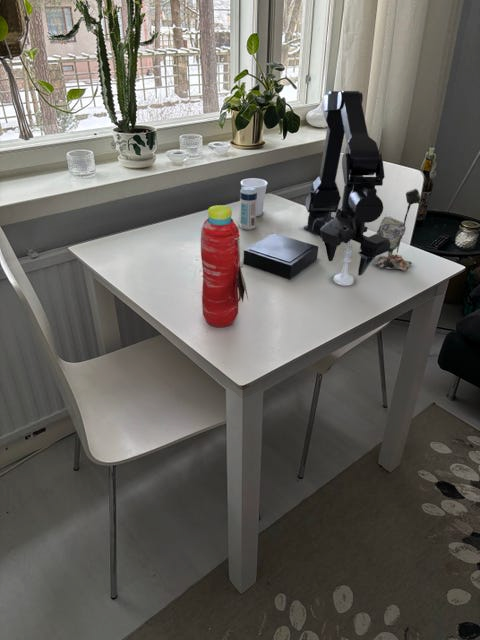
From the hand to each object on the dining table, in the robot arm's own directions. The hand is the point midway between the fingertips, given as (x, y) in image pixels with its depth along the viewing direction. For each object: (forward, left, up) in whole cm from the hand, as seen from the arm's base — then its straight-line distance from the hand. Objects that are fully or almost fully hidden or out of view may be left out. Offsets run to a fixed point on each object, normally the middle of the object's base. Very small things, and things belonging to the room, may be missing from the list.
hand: (345, 267), depth 117 cm
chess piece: (0, 0, -4) cm, 4 cm away
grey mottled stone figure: (-17, +1, -4) cm, 17 cm away
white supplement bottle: (-3, -40, -4) cm, 40 cm away
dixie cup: (-12, -48, -4) cm, 50 cm away
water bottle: (+34, -3, -4) cm, 34 cm away
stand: (+5, -17, -4) cm, 18 cm away
